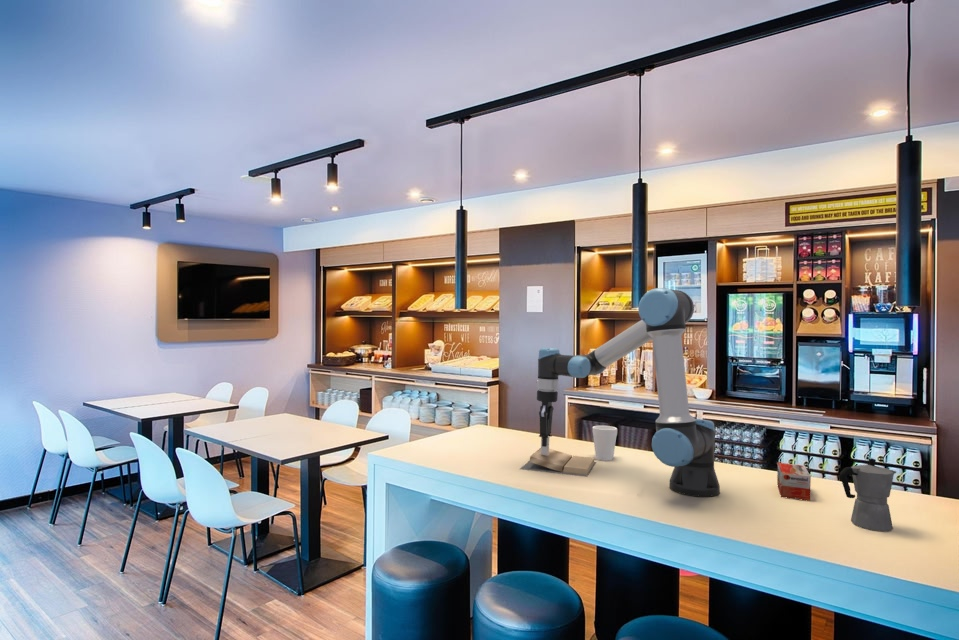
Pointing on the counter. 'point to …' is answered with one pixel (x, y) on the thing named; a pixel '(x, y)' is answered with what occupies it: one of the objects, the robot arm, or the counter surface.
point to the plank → (551, 459)
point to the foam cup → (604, 442)
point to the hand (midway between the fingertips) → (544, 454)
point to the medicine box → (793, 481)
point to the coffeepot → (870, 495)
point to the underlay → (567, 466)
